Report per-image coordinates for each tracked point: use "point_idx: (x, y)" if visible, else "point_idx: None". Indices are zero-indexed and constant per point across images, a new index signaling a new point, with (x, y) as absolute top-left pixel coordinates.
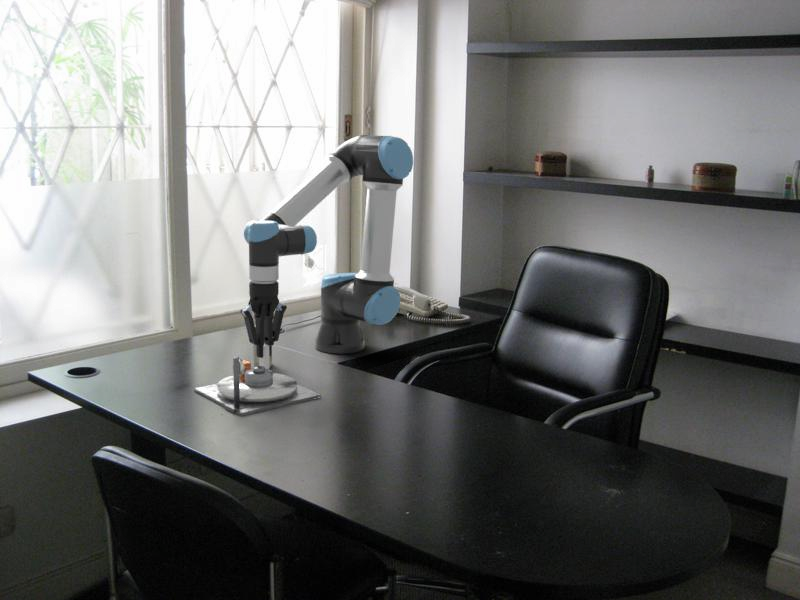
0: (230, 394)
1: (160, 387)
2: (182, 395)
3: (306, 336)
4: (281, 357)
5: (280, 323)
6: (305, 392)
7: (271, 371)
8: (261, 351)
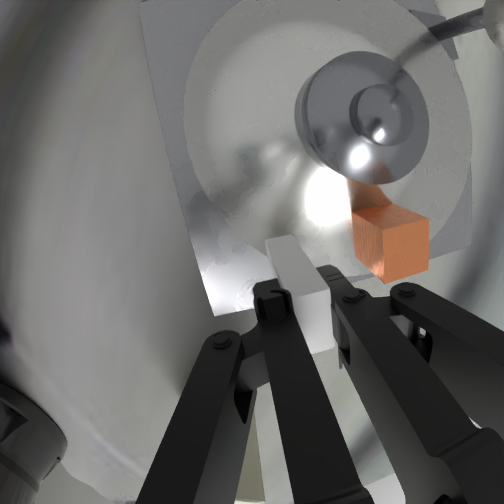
0: (457, 75)
1: (489, 297)
2: (490, 222)
3: (87, 480)
4: (145, 430)
5: (168, 460)
6: (176, 35)
7: (317, 94)
8: (331, 282)
